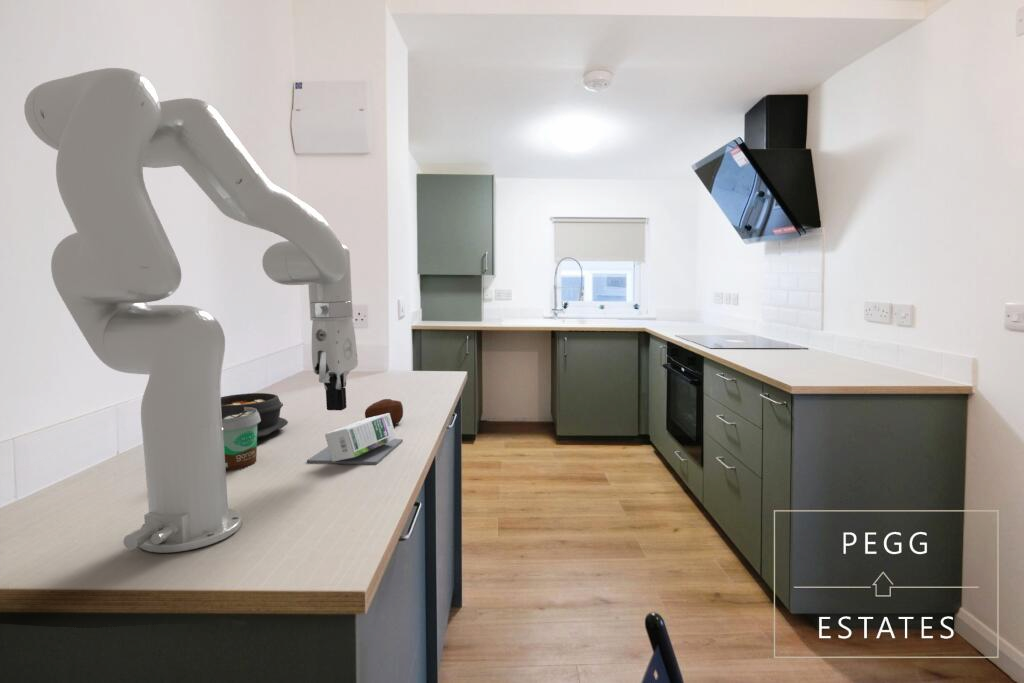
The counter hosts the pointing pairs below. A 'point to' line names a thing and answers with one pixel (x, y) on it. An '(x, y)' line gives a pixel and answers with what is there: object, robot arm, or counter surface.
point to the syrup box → (360, 437)
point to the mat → (365, 458)
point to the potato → (386, 410)
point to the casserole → (265, 407)
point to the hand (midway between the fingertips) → (336, 409)
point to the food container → (240, 438)
